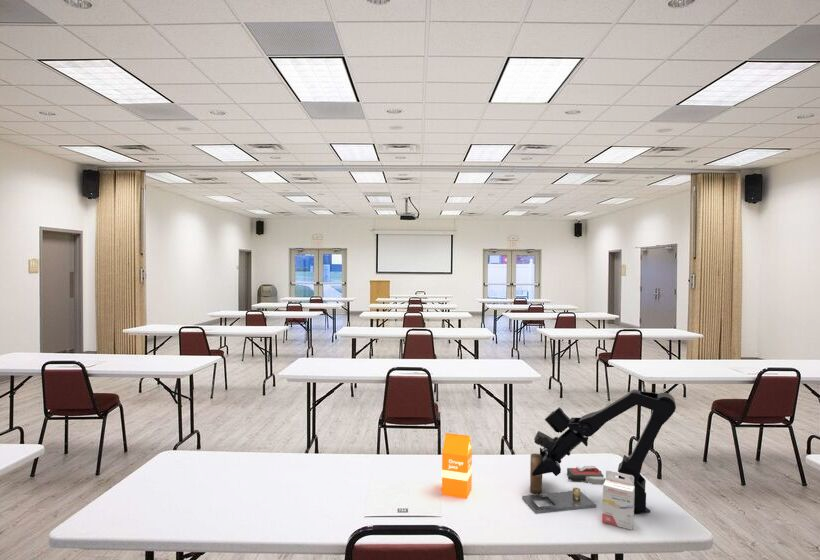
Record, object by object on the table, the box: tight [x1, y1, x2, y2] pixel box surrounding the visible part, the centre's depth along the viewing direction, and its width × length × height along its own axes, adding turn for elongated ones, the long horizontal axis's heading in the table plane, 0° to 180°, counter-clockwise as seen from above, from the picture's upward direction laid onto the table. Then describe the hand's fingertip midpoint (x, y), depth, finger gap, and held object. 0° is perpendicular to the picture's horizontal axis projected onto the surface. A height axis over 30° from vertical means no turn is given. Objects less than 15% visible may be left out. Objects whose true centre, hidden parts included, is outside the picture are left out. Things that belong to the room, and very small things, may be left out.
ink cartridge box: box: [601, 470, 635, 531], centre depth 147 cm, size 9×5×15 cm, turn 59°
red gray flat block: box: [566, 465, 606, 485], centre depth 177 cm, size 9×4×20 cm
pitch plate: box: [521, 487, 597, 514], centre depth 159 cm, size 10×21×4 cm, turn 101°
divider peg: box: [529, 453, 543, 495], centre depth 167 cm, size 4×4×12 cm
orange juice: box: [441, 432, 473, 499], centre depth 167 cm, size 8×9×20 cm
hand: (532, 472), depth 167 cm, fingers closed on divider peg, 4 cm apart
